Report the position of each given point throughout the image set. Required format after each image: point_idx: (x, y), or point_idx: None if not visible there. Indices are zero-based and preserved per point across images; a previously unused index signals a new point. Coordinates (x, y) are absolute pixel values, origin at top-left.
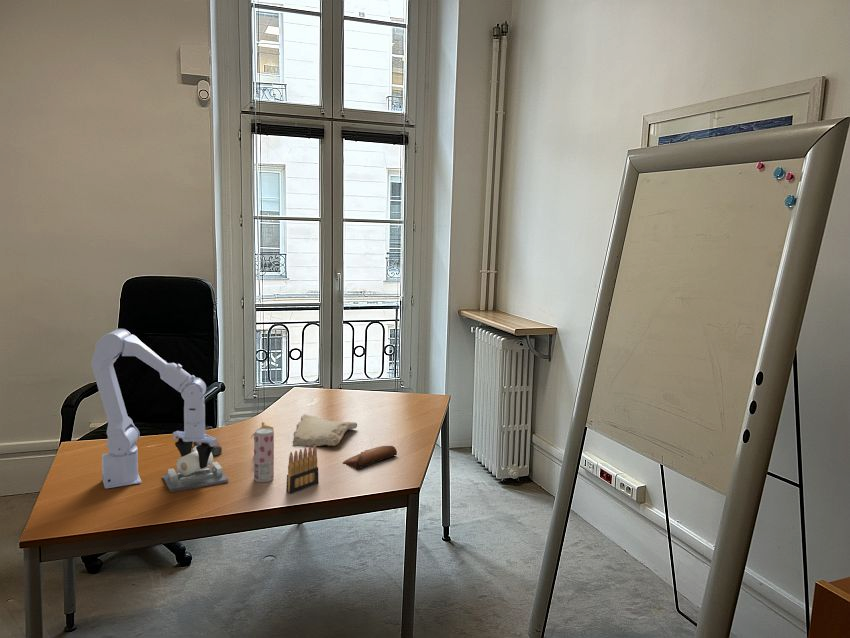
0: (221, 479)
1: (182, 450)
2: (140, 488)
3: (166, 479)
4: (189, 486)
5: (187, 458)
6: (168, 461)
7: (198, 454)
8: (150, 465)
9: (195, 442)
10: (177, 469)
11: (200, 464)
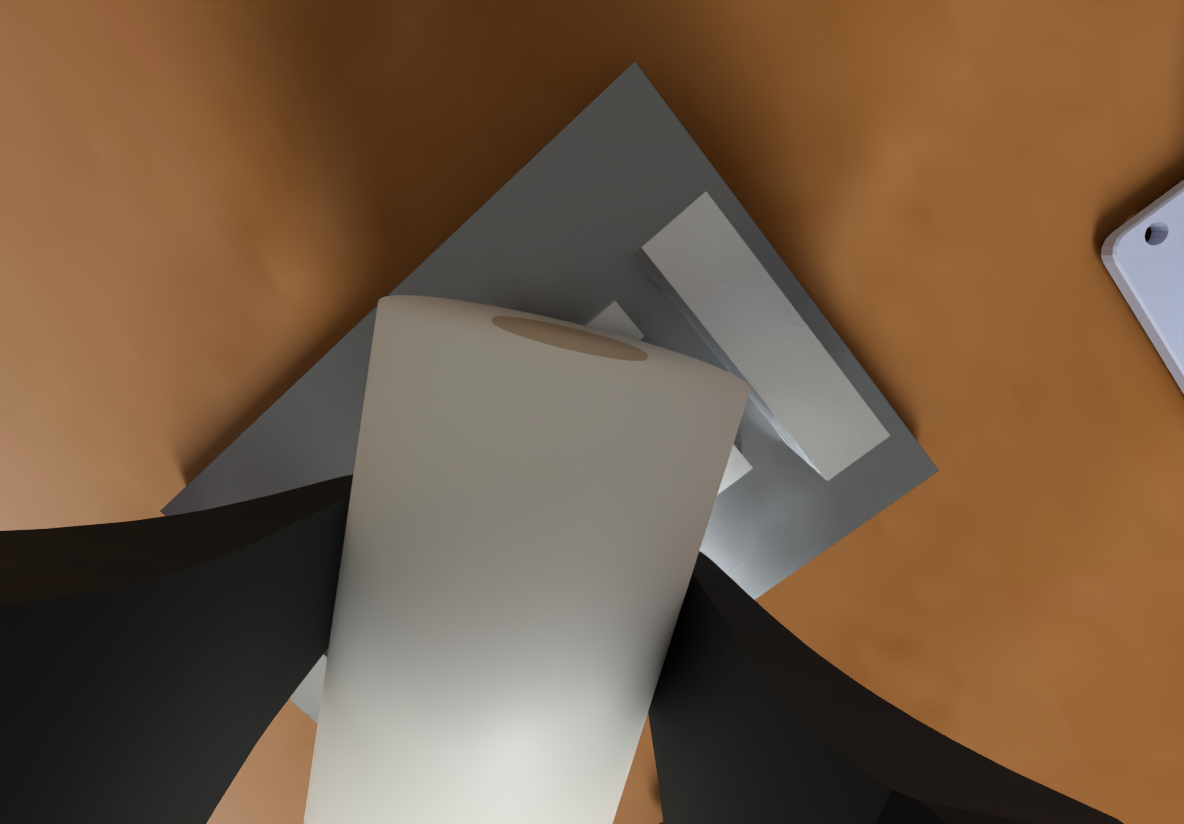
0: (222, 487)
1: (768, 686)
2: (1041, 107)
3: (825, 340)
4: (462, 227)
5: (455, 365)
6: None
7: (219, 556)
8: (1171, 704)
9: None
10: (706, 364)
11: (338, 487)
